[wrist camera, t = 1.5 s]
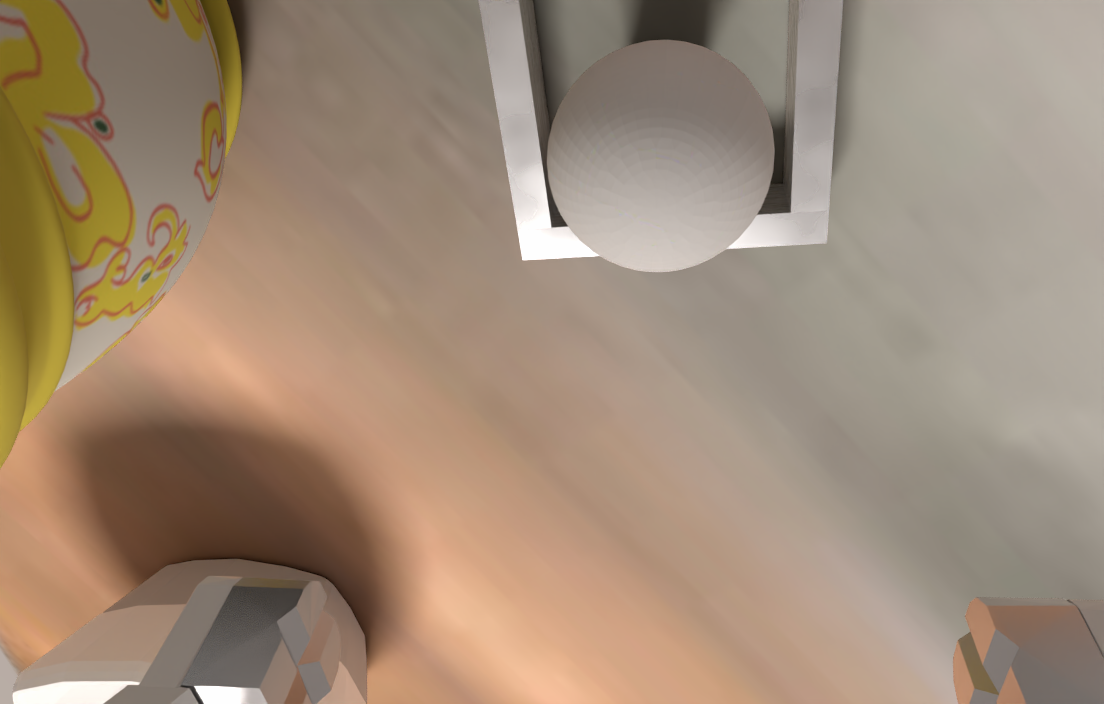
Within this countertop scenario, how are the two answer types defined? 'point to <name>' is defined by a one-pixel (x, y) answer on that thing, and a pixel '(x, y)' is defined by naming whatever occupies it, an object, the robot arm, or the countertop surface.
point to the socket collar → (788, 206)
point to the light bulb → (660, 155)
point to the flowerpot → (102, 175)
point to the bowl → (143, 625)
